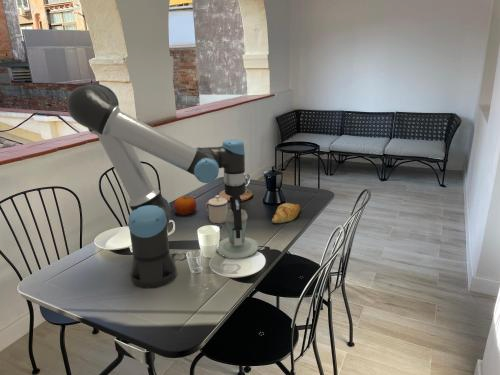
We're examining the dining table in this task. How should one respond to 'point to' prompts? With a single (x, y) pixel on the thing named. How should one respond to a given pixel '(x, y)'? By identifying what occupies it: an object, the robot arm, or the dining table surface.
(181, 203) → the fruit
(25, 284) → the dining table surface
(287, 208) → the croissant
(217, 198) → the teacup with lid
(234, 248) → the saucer
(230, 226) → the coffee cup
